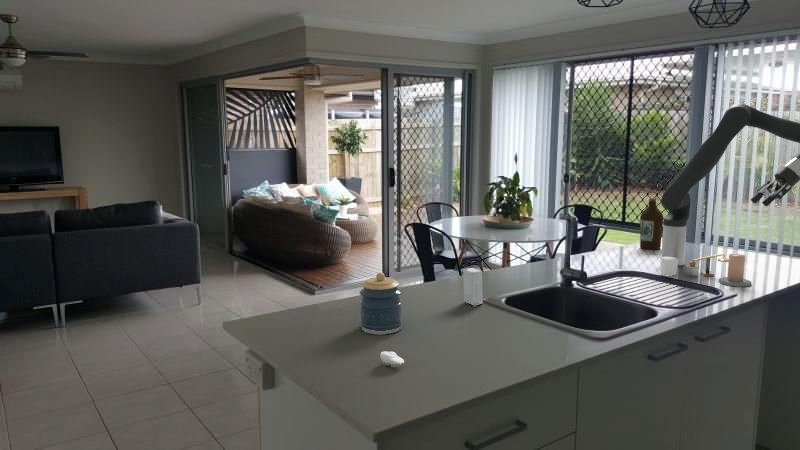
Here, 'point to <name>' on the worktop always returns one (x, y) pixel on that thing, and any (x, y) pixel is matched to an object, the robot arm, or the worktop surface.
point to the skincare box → (472, 286)
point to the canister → (381, 304)
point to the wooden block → (736, 268)
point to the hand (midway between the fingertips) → (758, 203)
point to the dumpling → (391, 358)
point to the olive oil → (651, 227)
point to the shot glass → (669, 265)
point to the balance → (707, 272)
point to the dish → (739, 284)
